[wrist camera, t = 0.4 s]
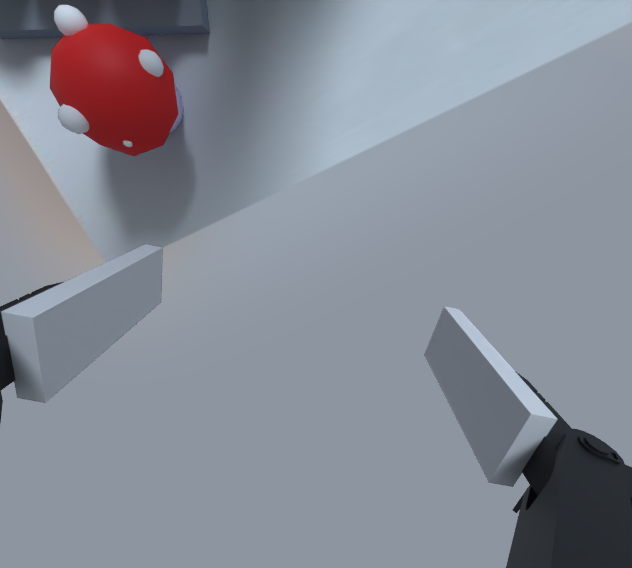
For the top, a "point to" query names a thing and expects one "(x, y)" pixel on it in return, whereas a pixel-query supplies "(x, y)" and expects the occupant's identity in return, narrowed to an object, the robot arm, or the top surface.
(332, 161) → the top surface
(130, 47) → the mushroom
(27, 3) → the button board
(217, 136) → the top surface
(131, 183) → the top surface
